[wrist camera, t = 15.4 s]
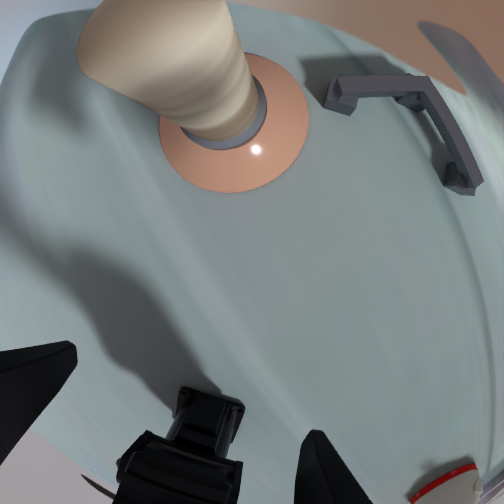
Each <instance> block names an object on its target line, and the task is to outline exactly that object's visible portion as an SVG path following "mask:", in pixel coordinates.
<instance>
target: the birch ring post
mask: <svg viewBox="0 0 504 504" xmlns="http://www.w3.org/2000/svg"><path fill="white" fill-rule="evenodd" d="M77 61H78V64H79V67H80V69H81V71H82V72H83V73H84V74H85V75H86V76H87V77H89V78H90V79H92V80H94V81H96V82H98V83H100V84H103V85H105V86H107V87H109V88H111V89H113V90H115V91H117V92H119V93H120V94H122V95H124V96H126V97H128V98H130V99H132V100H134V101H136V102H138V103H139V104H141V105H143V106H145V107H147V108H149V109H151V110H152V111H154V112H156V113H158V114H160V115H161V116H163V117H165V118H167V119H168V120H170V121H172V122H174V123H175V124H177V125H179V126H180V128H181V130H182V132H183V133H184V134H185V135H186V136H187V137H188V138H189V139H190V140H192V141H193V142H195V143H197V144H198V145H200V146H202V147H205V148H207V149H212V150H229V149H235V148H239V147H242V146H244V145H246V144H248V143H249V142H250V141H252V140H253V139H254V138H255V137H256V136H257V134H258V133H259V131H260V129H261V127H262V126H263V124H264V122H265V119H266V115H267V100H266V96H265V92H264V89H263V87H262V85H261V84H260V82H259V81H258V80H257V78H256V77H255V76H253V75H252V74H251V71H250V68H249V65H248V62H247V59H246V56H245V54H244V51H243V48H242V45H241V42H240V40H239V37H238V34H237V31H236V29H235V26H234V23H233V21H232V18H231V15H230V13H229V10H228V8H227V5H226V3H225V0H104V1H103V2H102V3H101V4H100V5H99V6H98V7H97V8H96V10H95V11H94V12H93V14H92V15H91V16H90V18H89V19H88V21H87V23H86V24H85V26H84V28H83V30H82V33H81V35H80V38H79V42H78V47H77Z"/></svg>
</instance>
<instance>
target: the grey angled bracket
mask: <svg viewBox="0 0 504 504" xmlns="http://www.w3.org/2000/svg"><path fill="white" fill-rule="evenodd" d="M388 96H398V97H397V103H399V104H401V105H403V106H406V107H408V108H410V109H412V110H414V111H416V112H420V111H422V110H424V109H426V111H427V112H428V114H429V115H430V117H431V119H432V120H433V122H434V124H435V126H436V127H437V129H438V131H439V133H440V135H441V136H442V138H443V140H444V142H445V144H446V146H447V148H448V150H449V152H450V154H451V156H452V158H453V160H454V162H450V163H448V164H447V170H446V175H445V181H444V187H446V188H448V189H450V190H452V191H454V192H456V193H458V194H460V195H468V196H475V190H476V187H477V186H479V185H480V184H481V183H483V182H484V180H483V177H482V175H481V172H480V170H479V168H478V165H477V163H476V161H475V158H474V156H473V154H472V152H471V150H470V148H469V145H468V143H467V141H466V139H465V137H464V135H463V133H462V131H461V130H460V128H459V126H458V124H457V122H456V120H455V119H454V117H453V115H452V113H451V112H450V110H449V108H448V106H447V105H446V103H445V102H444V100H443V98H442V97H441V95H440V94H439V92H438V91H437V89H436V88H435V86H434V85H433V83H432V82H431V80H430V78H429V77H428V76H414V75H412V74H410V73H408V74H407V75H362V76H344V77H338V76H335V75H332V77H331V80H330V83H329V85H328V90H327V94H326V99H325V103H324V107H323V108H325V109H329V110H332V111H335V112H338V113H342V114H345V115H348V116H350V115H351V114H352V113H353V111H354V110H355V109H356V106H357V101H358V98H365V97H388Z"/></svg>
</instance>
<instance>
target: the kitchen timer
mask: <svg viewBox="0 0 504 504" xmlns="http://www.w3.org/2000/svg"><path fill="white" fill-rule="evenodd" d="M482 493H483V489H482V483H481V478H480V477H479V472H478V470H477V467H476V465H474V464H469V465H465V466H462V467H460V468H457V469H455V470H453V471H451V472H449V473H447V474H445V475H444V476H442V477H440V478H438V479H436V480H435V481H433V482H432V483H430V484H428V485H427V486H426V487H424V488H423V489H421V490H420V491H419V492H418V493H417V494H415V495H414V496H413V498H412V499H411V504H478V501H479V497H480V494H482Z"/></svg>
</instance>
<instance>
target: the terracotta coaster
mask: <svg viewBox="0 0 504 504" xmlns="http://www.w3.org/2000/svg"><path fill="white" fill-rule="evenodd" d="M245 56H246V59H247V62H248V65H249V68H250V71H251V74H252V75H253V76H255V77H256V78H257V80H258V81H259V82H260V84H261V85H262V87H263V89H264V92H265V96H266V100H267V115H266V119H265V122H264V124H263V126H262V127H261V129H260V131H259V133H258V134H257V136H256V137H255V138H254V139H253V140H252V141H250V142H249V143H248V144H246V145H244V146H242V147H239V148H235V149H229V150H212V149H207V148H205V147H202V146H200V145H198V144H197V143H195V142H193V141H192V140H190V139H189V138H188V137H187V136H186V135H185V134H184V133H183V132H182V130H181V128H180V126H179V125H177V124H175V123H174V122H172V121H170V120H168V119H167V118H165V117H163V116H161V115H160V123H159V135H160V141H161V145H162V148H163V151H164V153H165V156H166V158H167V160H168V161H169V163H170V164H171V166H172V167H173V168H174V169H175V170H176V172H177V173H178V174H180V175H181V176H182V177H183V178H184V179H186V180H187V181H189V182H190V183H192V184H194V185H196V186H198V187H200V188H203V189H206V190H210V191H215V192H224V193H236V192H244V191H249V190H253V189H256V188H258V187H261V186H263V185H265V184H267V183H269V182H271V181H273V180H274V179H276V178H277V177H279V176H280V175H281V174H282V173H283V172H285V171H286V170H287V169H288V168H289V167H290V165H291V164H292V163H293V162H294V161H295V159H296V158H297V156H298V155H299V153H300V151H301V149H302V147H303V145H304V142H305V139H306V135H307V131H308V125H309V113H308V105H307V102H306V98H305V96H304V93H303V91H302V89H301V87H300V86H299V84H298V83H297V81H296V80H295V79H294V78H293V76H292V75H291V74H290V73H289V72H288V71H286V70H285V69H284V68H283V67H281V66H280V65H278V64H277V63H275V62H273V61H271V60H269V59H266V58H263V57H260V56H256V55H251V54H245Z"/></svg>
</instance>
